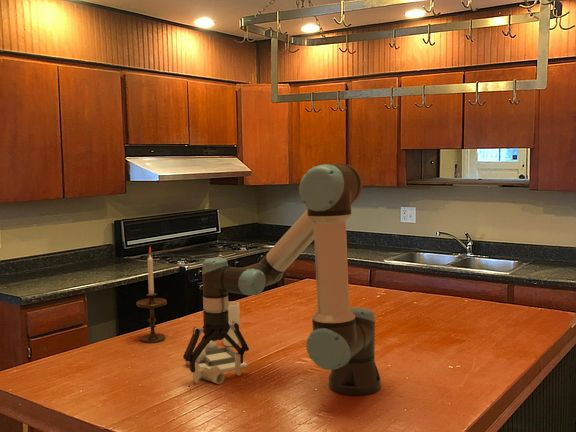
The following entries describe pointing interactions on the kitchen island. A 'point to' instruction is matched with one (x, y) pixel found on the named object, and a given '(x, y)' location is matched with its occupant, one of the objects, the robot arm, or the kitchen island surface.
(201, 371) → the pipe fitting
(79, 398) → the kitchen island surface
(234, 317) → the drinking glass
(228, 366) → the coupling board
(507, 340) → the kitchen island surface
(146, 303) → the candlestick
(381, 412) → the kitchen island surface
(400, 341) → the kitchen island surface
